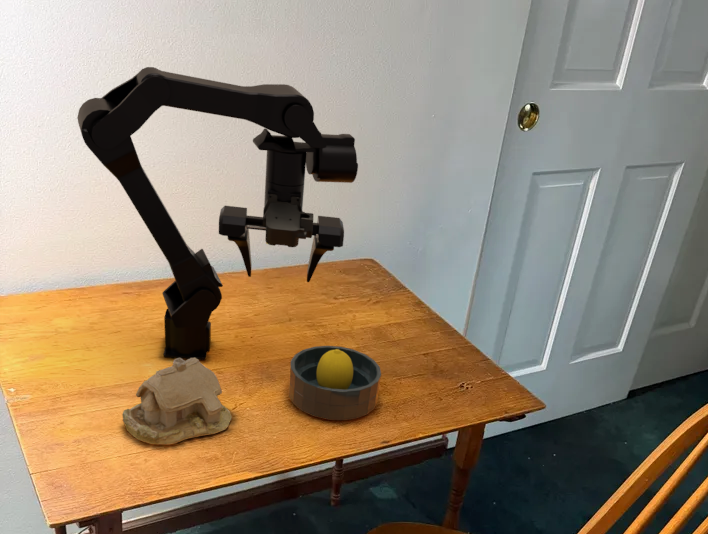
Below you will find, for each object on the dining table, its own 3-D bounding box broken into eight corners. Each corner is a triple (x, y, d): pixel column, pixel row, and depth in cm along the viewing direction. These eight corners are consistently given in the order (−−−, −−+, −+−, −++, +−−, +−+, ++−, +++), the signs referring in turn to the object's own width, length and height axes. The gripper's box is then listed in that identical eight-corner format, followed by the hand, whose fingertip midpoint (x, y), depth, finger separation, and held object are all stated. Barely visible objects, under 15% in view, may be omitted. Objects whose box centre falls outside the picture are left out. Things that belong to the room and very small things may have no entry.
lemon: (345, 408, 119) (350, 362, 114) (309, 400, 119) (314, 353, 115) (354, 391, 123) (360, 345, 119) (320, 383, 124) (324, 337, 119)
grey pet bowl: (288, 420, 115) (291, 388, 112) (288, 373, 126) (290, 342, 122) (380, 425, 117) (385, 394, 114) (372, 378, 128) (376, 349, 125)
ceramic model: (194, 390, 117) (193, 330, 112) (244, 423, 112) (246, 362, 107) (111, 422, 108) (106, 358, 102) (162, 460, 103) (159, 395, 97)
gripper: (216, 190, 108) (215, 294, 117) (351, 205, 112) (339, 305, 121) (222, 166, 117) (220, 265, 126) (346, 181, 121) (336, 276, 130)
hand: (279, 278), depth 125 cm, fingers open, 9 cm apart
